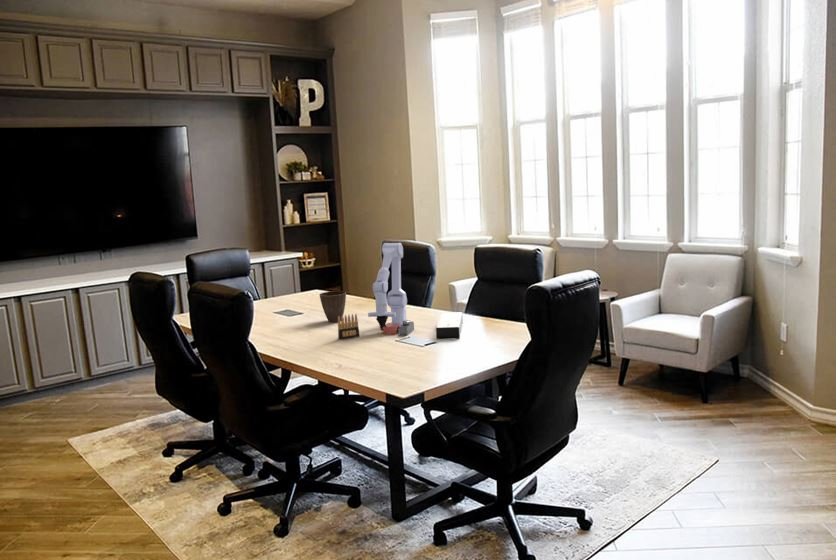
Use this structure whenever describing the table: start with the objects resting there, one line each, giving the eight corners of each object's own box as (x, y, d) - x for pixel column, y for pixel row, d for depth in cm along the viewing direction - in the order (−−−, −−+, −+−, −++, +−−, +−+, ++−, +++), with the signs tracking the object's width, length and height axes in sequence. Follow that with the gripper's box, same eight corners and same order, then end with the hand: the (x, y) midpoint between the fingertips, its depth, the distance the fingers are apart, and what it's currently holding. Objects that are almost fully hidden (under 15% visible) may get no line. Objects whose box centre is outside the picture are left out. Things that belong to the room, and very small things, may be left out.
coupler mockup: (393, 329, 356) (393, 318, 355) (414, 329, 353) (413, 318, 352) (386, 335, 345) (385, 323, 344) (407, 335, 342) (406, 323, 341)
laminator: (459, 339, 330) (459, 327, 329) (434, 340, 331) (433, 327, 330) (462, 323, 363) (462, 312, 362) (439, 324, 364) (439, 312, 363)
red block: (388, 330, 355) (387, 323, 354) (400, 330, 353) (400, 323, 352) (383, 334, 347) (382, 327, 347) (396, 334, 345) (395, 327, 345)
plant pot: (317, 324, 380) (315, 296, 377) (327, 318, 394) (325, 290, 391) (342, 324, 376) (340, 295, 373) (351, 318, 390) (349, 290, 388)
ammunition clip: (339, 339, 342) (337, 316, 340) (338, 339, 343) (336, 315, 341) (359, 336, 345) (358, 313, 343) (358, 336, 347) (356, 312, 345)
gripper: (365, 306, 348) (367, 332, 350) (392, 306, 343) (393, 332, 346) (370, 303, 354) (371, 328, 356) (396, 303, 350) (398, 329, 352)
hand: (383, 330), depth 351 cm, fingers closed
